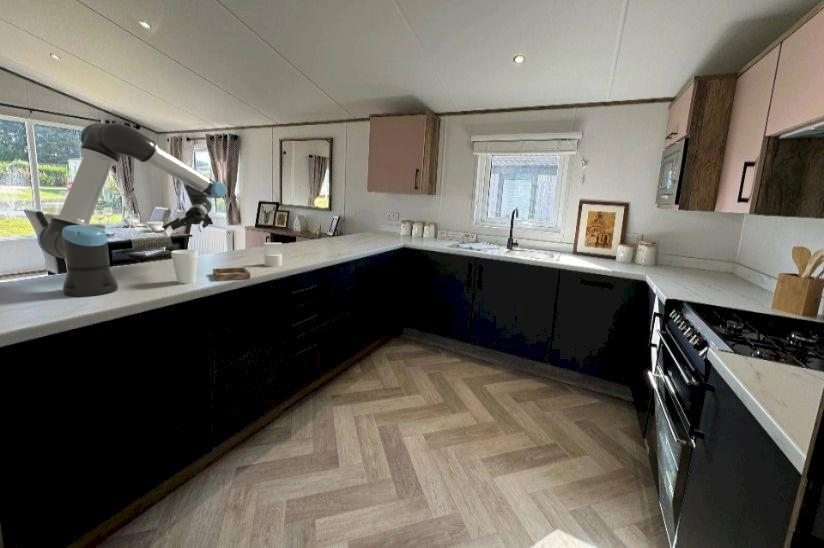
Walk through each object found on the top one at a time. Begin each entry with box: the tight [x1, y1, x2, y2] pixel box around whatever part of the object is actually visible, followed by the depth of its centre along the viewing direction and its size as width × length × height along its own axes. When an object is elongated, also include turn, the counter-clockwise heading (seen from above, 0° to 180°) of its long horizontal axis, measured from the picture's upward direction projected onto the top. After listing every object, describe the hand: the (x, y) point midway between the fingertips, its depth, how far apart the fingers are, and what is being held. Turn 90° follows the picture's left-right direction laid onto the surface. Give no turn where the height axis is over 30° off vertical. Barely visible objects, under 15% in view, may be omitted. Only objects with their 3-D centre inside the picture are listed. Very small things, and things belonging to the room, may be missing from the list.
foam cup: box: [170, 249, 199, 284], centre depth 155 cm, size 10×9×13 cm
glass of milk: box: [263, 242, 283, 268], centre depth 200 cm, size 9×9×12 cm
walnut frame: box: [212, 266, 251, 282], centre depth 170 cm, size 14×14×3 cm
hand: (182, 231), depth 158 cm, fingers open, 13 cm apart
